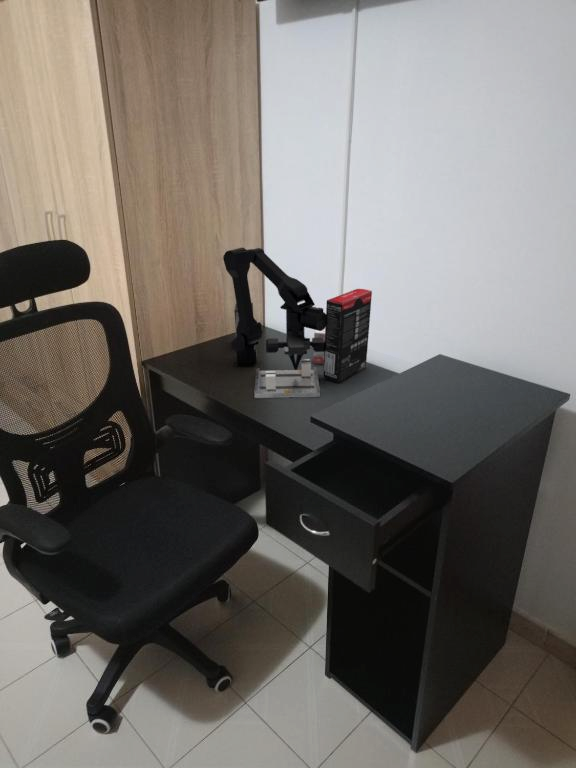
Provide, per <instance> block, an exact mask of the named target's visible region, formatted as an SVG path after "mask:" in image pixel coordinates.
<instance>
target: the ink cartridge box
mask: <svg viewBox="0 0 576 768" xmlns="http://www.w3.org/2000/svg"><path fill="white" fill-rule="evenodd" d="M325 328H326V327H325ZM325 328H324V329H323V330H322V331H318V330H314V335H313V338H323V339H324V340H325ZM315 364H317V365H324V352H315V351H314V350H313V365H315Z"/></svg>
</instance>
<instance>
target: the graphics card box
mask: <svg viewBox="0 0 576 768" xmlns="http://www.w3.org/2000/svg"><path fill="white" fill-rule="evenodd" d="M372 295H373V290H371V289H365V288H356V289H353V290H350V291H348V292H346V293H343V294H340V295H336V296H334V297H332V298H329V299H327V300H326V307H325V308H326V310H325V314H326V316H327V324H326V328H325V351H324V364H323V376H322V377H323V378H324V379H326V380H329V381H332V382H335V383H338V384H339V383H340V382H343V381H344V380H346V379H348V378H349V377H351V376H353V375H355V374H357V373H359V372H361V371H362V370H365V369H366V368H367V358H368V347H369V346H368V345H369V344H368V343H369V332H370V321H371V310H372Z"/></svg>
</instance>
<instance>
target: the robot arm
mask: <svg viewBox="0 0 576 768" xmlns="http://www.w3.org/2000/svg"><path fill="white" fill-rule="evenodd" d="M222 259H223V263H224V267H225V270H226V272H227V273H228V275H230V277H231V278H232V286H233V290H234V291H233V292H234V296H235V304H236V303H237V310H238V316H239V322H238V325H237V328H236V329H235V338H233V340H232V341H231V342H230V346H231V348H232V349H233V350H236V351H235V352H236V354H235V355H236V367H255V366H256V363H257V362H258V357H257V356H258V355H257V354H258V351H257V348H255V347H256V346H257V345H259V344H260V340H261V339H262V336H263V332H264V331H263V329H262V323H261V322H260V321H259V322H258V321H257V319H255V316H254V309H253V310H252V304H251V303H252V298H251V292H250V286H249V280H248V278H249V277H248V274H249V272H250V268H251V264H252V265H254V267H256V268H257V269H258V270H259V271H260V272H261V274H263V275H264V276H265V277H266V278H267V279H268V280H269V281H270V282H271V283H272V284H273V285H274V286H275V287H276V289H277V293H278V296H279V297H280V298H281V299H282V301H283V302H284V303H283V304H282V305H281V306H280V307H279V308H280V309H281V310H285V321H286V322H285V323H286V324H285V325H286V328H285V329H286V338H285V339H286V341H279V338H277V337H276V338H267V339H266V340H265V342H266V343H265V352H266V353H269V354H271V353H272V354H274V353H277V352H279V349H283V353H284V355H287V356H288V358H289V359H290V361H291V364H292V366H293V370H298V367H299V365H300V363H301V359H303V356H304V355H307V354H308V350H311V348H312V350H313V352H314V351H315V352H324V351H325V340H324V339H323V338H314V337H312V338H310V337H309V338H308V337H306V336H305V328H307V329H310V330H314V331H315V330H318V331H322V330H323V329H324V328H325V327H326V324H327V316H326V312H324V307H323V308H322V307H316V306H315V301H314V300H313V299H312V297H311V294H310V293H309V291H308V287H307V286H306V284H304V283H303V282H301V281H300V280H298V279H297V278H295V277H292V276H289V275H288V274H287V273H286V272H285V271H283V269H281V268H280V267H279V265H278V264H277V263H275V261H273V260H272V259H271V258H270V257H269V256H268V255H267V253H265V251H264V249H263V248H260V247H257V248H250V249H246V248H245V247H237V248H233V249H230V250H226V252H225V253H224V255H223V256H222ZM236 335H237V337H236Z"/></svg>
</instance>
